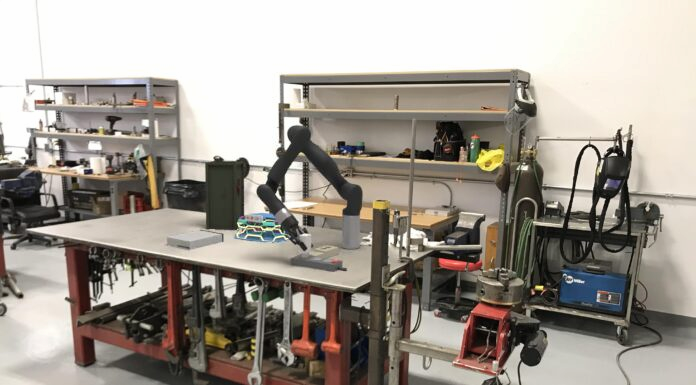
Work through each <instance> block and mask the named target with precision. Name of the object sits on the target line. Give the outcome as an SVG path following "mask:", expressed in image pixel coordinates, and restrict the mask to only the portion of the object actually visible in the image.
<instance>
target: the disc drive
mask: <svg viewBox="0 0 696 385" xmlns="http://www.w3.org/2000/svg"><path fill="white" fill-rule="evenodd" d="M224 239H225V238H224V233H222V232H216V231H210V230H204V229H198V230H195V231H189V232H185V233H181V234H175V235H170V236H167V237H166V245H167V246H168V245H170V246H169V247H173V246H174V248H178V249H184V250H187V251H188V250H189V251H191V250H196V249H200V248H204V247H207V246H212V245H216V244H219V243H224Z"/></svg>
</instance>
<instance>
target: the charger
mask: <svg viewBox="0 0 696 385" xmlns="http://www.w3.org/2000/svg"><path fill="white" fill-rule="evenodd" d="M299 236H300V239H301V240H302V242H303V243H304V244H305V245H306V247H307V250H306V251H303V250H302V248H301V247H300V246H299V245H298V254H301V259H308V258H309V252H311V251H312V248H311V243H312V234H310V233H309V234H302V235H299Z"/></svg>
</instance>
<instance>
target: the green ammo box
mask: <svg viewBox="0 0 696 385" xmlns="http://www.w3.org/2000/svg"><path fill="white" fill-rule="evenodd" d="M204 172H205V173H204V174H205V175H204V178H205V179H204V180H205V183H204V184H205V226H206V227H205V228H206V230H210V229H215V230H216V231H218V230H220V231H222V230H223V231H238V230H237V229H238V223H237V222H238V220H239V217H241V216H244V215H245V161H239V160H238V161H237V160H236V161H234V160H212V161H208V162H205V163H204ZM243 218H244V217H243ZM243 218H242V220H243ZM240 226H242V225H240Z"/></svg>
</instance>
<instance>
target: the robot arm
mask: <svg viewBox="0 0 696 385" xmlns="http://www.w3.org/2000/svg"><path fill="white" fill-rule="evenodd" d="M286 136H287V138H288V141H289V142H290V143H289V145H288V147H287V149H286V150H285V151H284V152H283V153H282V154H281V156H279V158H277V160H275V162H274V163H273V164H272V166H271V167H270V169H269V171H268V173H267V176H266V182H265V183H262V184H260V185H258V186H257V187H256V196H257V197H258V198H259V200H260V201H261V202H262V203H263V205H265V207H267V208H268V210H269V213H270V214H273V216H274V217H275V218H276V220H277V222H278V223H279V224H280V226H281V227H282V228H283V229H284V231H285V232H288V234H287V235H286V237H287V238H288V239H289V240H290V242H291V244H293V245H295V246H296V245H297V246H298V247H299V246H300V247H301V248H302V250H303V251H306V250H307V247H306V245H305V244H304V243H303V242H302V240H301V239H300V236H299V235H302V234H310V233H309V231H308V230H307V228H306V227H303V228H302V227H300V226H299V223H300V222H299V221H298V219H297V218H296V217H295V215H294V214H293V213H292V212H291V210H290V209H289V208H288V207H287V206H286V205H285V203H284V202H283V201H282V200H281V199H280V198H279V197H278V196H277V193H278V189H279V186H280V183H281V182H282V181H283V179H284V177H285V176H286V174H287V172H288V171H289V169H290V167H291V166H292V164H293V163H294V162H295V160H296V159H297V157H298V156H299V155H300V153H302V154H303V155H304V156H305V157H306V159H307V160H308V161H309V162H310V164H312V166H314V168H315V169H316V170H317V171H318V173H319V174H321V175H322V176H323V178H325V179H326V180H327V181H328V182H329V183H330V184H331V186H332V187H333V188H334V189H335V191H336V192H337V194H338V196H340V197H341V199H342V200H344V201H346V206H345V207H344V208H343V209H342V210H341V211H342V213H341V221H342V222H341V248H343V249H347V250H348V249H349V250H351V249H352V250H354V249H355V250H356V249H359V248H360V241H361V240H360V239H361V238H360V237H361V211H362V209H363V208H362V207H363V196H364V194H363V188H362V187H361V186H360V185H359V184H355V183H351V182H349V181H348V180H347V179H346V178H345V177H344V176H343V175H342V173H341V172H340V169H339V166H338V164H337V162H336V161H335V160H334V159H333V158H332V157H331V155H329V153H327V152H326V151H325V150H324V149H322V148H321V147H320V146H319V145H317V144H315V143H314V142H313V141H312V140H311V138H312V132H311V130H310V128H309V127H307V126H305V125H298V124H295V125H291V126H290V127H289V128H288V129H287V131H286ZM291 237H292V238H291ZM313 248H314V245H313V243H312V242H311V249H313Z"/></svg>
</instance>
